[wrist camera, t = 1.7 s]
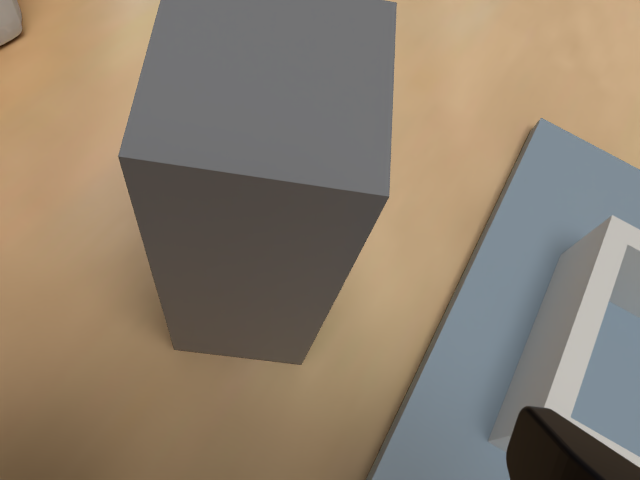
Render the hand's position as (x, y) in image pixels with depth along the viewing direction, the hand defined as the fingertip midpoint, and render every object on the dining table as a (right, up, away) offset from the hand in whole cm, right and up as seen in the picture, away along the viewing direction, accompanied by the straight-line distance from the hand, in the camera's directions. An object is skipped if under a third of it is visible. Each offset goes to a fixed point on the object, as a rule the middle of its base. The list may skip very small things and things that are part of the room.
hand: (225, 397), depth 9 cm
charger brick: (-1, 0, +13) cm, 13 cm away
